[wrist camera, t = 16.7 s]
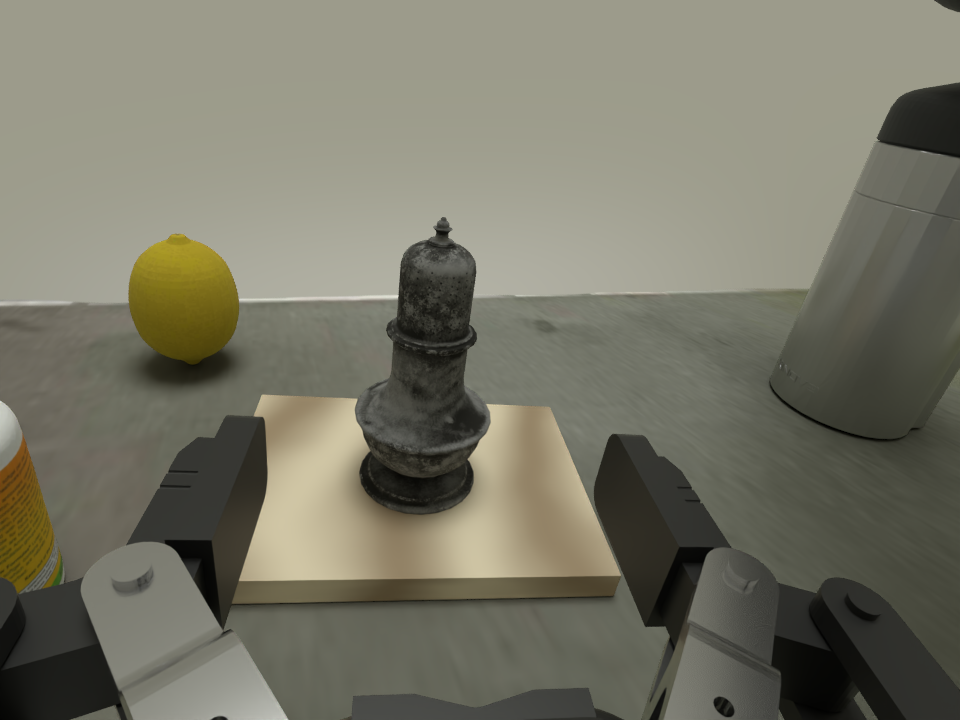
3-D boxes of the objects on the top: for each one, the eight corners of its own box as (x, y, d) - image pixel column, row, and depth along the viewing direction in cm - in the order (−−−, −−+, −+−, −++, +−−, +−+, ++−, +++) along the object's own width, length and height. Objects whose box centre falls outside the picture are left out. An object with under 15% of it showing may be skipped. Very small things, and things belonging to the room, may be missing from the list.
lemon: (256, 347, 36) (248, 227, 33) (221, 392, 31) (208, 256, 28) (168, 337, 36) (150, 214, 32) (120, 381, 31) (92, 242, 27)
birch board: (545, 423, 33) (549, 406, 33) (613, 595, 23) (620, 575, 22) (263, 413, 30) (261, 394, 30) (193, 604, 20) (189, 581, 19)
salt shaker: (354, 434, 28) (363, 190, 22) (470, 435, 29) (506, 205, 23) (349, 521, 23) (358, 234, 17) (489, 518, 24) (541, 249, 18)
